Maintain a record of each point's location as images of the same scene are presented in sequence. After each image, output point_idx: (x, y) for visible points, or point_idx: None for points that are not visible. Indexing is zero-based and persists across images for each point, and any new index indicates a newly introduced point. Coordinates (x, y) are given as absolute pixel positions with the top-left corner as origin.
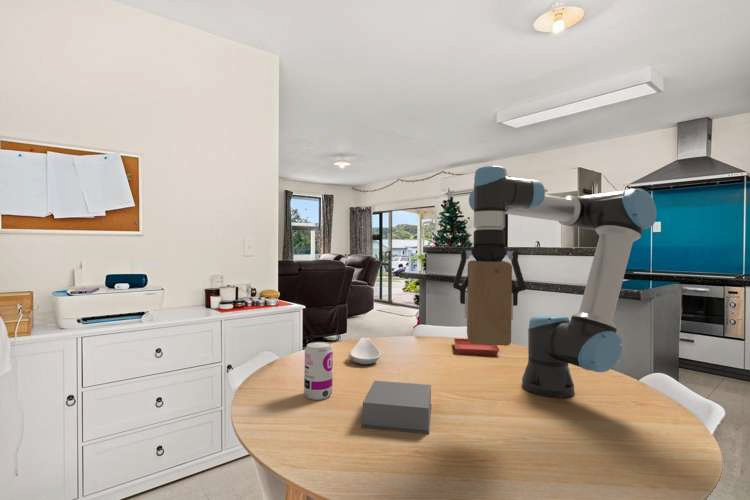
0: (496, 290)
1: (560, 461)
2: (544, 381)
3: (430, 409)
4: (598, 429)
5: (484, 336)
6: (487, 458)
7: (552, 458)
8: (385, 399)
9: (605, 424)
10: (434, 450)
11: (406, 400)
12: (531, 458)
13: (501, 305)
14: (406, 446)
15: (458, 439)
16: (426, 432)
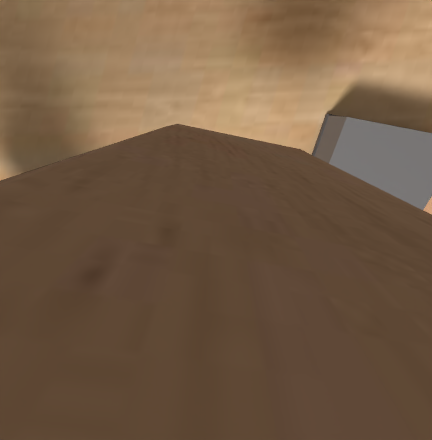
0: (213, 209)
1: (139, 21)
2: None
3: None
4: (51, 142)
5: (261, 143)
6: (256, 26)
7: (149, 32)
8: (415, 156)
9: (36, 160)
10: (335, 52)
11: (376, 153)
12: (184, 30)
13: (176, 150)
14: (378, 65)
15: (283, 96)
16: (330, 114)
